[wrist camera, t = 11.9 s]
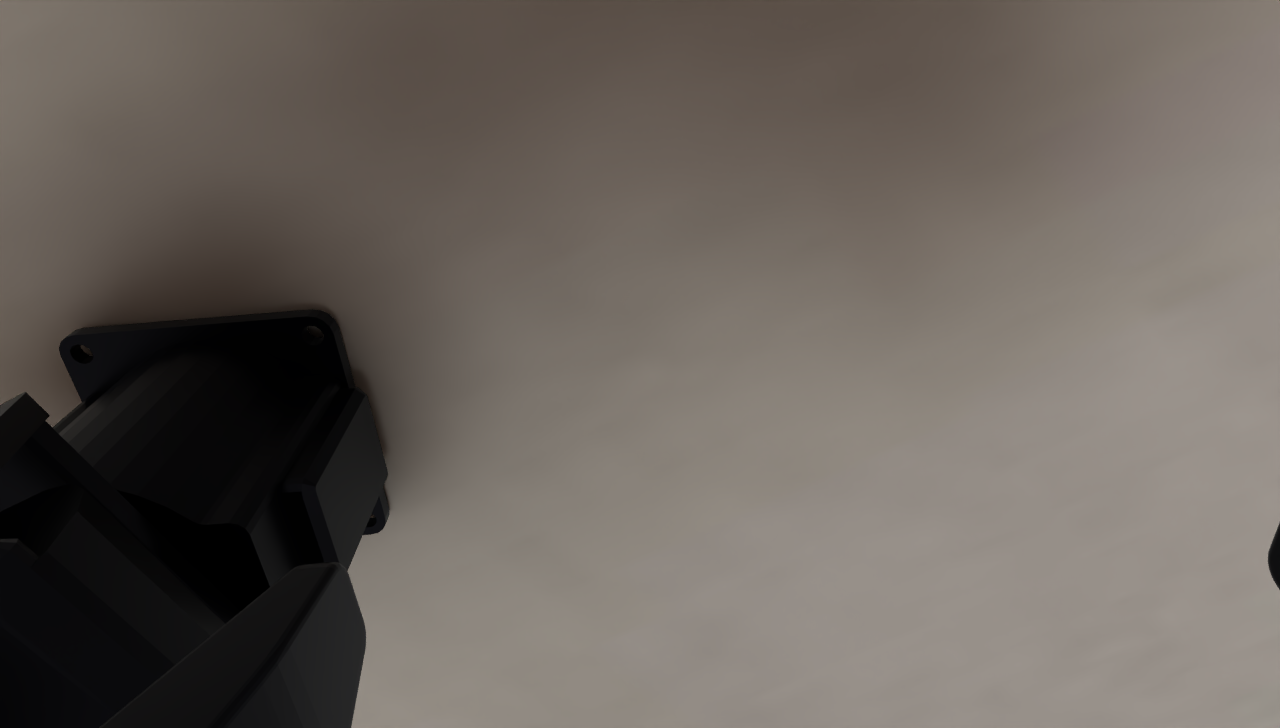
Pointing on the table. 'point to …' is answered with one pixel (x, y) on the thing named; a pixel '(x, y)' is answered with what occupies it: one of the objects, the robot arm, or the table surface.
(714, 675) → the table surface
